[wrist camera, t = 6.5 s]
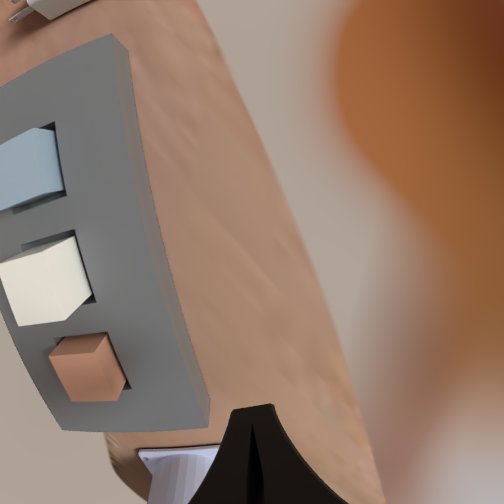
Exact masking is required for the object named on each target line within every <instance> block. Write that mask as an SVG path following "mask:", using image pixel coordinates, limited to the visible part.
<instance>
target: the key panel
mask: <svg viewBox="0 0 504 504" xmlns="http://www.w3.org/2000/svg"><path fill="white" fill-rule="evenodd" d="M32 128H39V129H45V130H51V131H56V135H57V142H58V149H59V155H60V161H61V167H62V173H63V178H64V183H65V188H66V191H65V192H62V193H59V194H56V195H53V196H50V197H48V198H45V199H42V200H39V201H37V202H34V203H30V204H26V205H22V206H18V207H13V208H9V209H5V210H1V211H0V263H1V262H3V261H5V260H7V259H9V258H12V257H14V256H16V255H18V254H20V253H22V252H24V251H26V250H28V249H31V248H34V247H37V246H40V245H44V244H47V243H51V242H54V241H58V240H62V239H65V238H69V237H72V236H75V239H76V242H77V246H78V250H79V253H80V257H81V260H82V264H83V267H84V270H85V273H86V277H87V280H88V283H89V286H90V289H91V292H92V294H91V295H90V296H89V297H88V298H87V299H86V300H85V301H84V302H83V303H82V304H81V305H80V306H79V307H78V308H77V309H76V310H75V311H74V312H73V313H72V314H71V315H70V316H69V317H68V318H67V319H66V320H63V321H56V322H49V323H41V324H34V325H26V326H18V324H17V321H16V319H15V316H14V314H13V311H12V309H11V306H10V303H9V301H8V298H7V295H6V292H5V290H4V287H3V284H2V281H1V278H0V310H1V313H2V316H3V318H4V321H5V323H6V325H7V328H8V330H9V333H10V335H11V337H12V339H13V342H14V344H15V346H16V348H17V350H18V352H19V355H20V356H21V359H22V361H23V363H24V365H25V366H26V369H27V370H28V372H29V374H30V376H31V378H32V380H33V382H34V384H35V385H36V387H37V389H38V391H39V393H40V394H41V396H42V398H43V400H44V401H45V403H46V404H47V406H48V408H49V410H50V411H51V413H52V415H53V416H54V418H55V419H56V421H57V422H58V424H59V425H60V427H61V428H62V430H69V431H86V432H154V431H173V430H186V429H197V428H207V427H208V425H209V412H210V397H209V394H208V391H207V388H206V385H205V382H204V379H203V377H202V374H201V371H200V368H199V365H198V362H197V358H196V355H195V352H194V349H193V346H192V343H191V340H190V336H189V333H188V330H187V327H186V323H185V320H184V317H183V313H182V310H181V306H180V303H179V299H178V296H177V292H176V289H175V285H174V282H173V278H172V274H171V270H170V267H169V263H168V259H167V255H166V251H165V247H164V243H163V239H162V235H161V231H160V227H159V222H158V218H157V214H156V209H155V205H154V200H153V196H152V191H151V187H150V182H149V177H148V172H147V167H146V162H145V157H144V151H143V146H142V141H141V135H140V129H139V123H138V117H137V111H136V105H135V98H134V91H133V84H132V77H131V69H130V61H129V53H128V50H127V49H126V48H125V47H124V46H123V45H122V44H121V43H120V42H119V40H118V39H117V38H116V37H115V36H114V35H113V34H109V35H106V36H104V37H101V38H98V39H96V40H93V41H91V42H88V43H86V44H83V45H81V46H79V47H76V48H74V49H72V50H70V51H67V52H65V53H63V54H61V55H59V56H57V57H55V58H52V59H50V60H48V61H46V62H44V63H42V64H41V65H39V66H37V67H35V68H33V69H31V70H29V71H27V72H26V73H24V74H22V75H20V76H19V77H17V78H15V79H13V80H12V81H10V82H8V83H7V84H5V85H3V86H2V87H0V145H1V144H3V143H5V142H7V141H8V140H10V139H12V138H14V137H16V136H18V135H20V134H22V133H24V132H26V131H28V130H30V129H32ZM99 332H108V334H109V337H110V339H111V342H112V344H113V347H114V349H115V352H116V354H117V356H118V359H119V361H120V363H121V366H122V368H123V370H124V372H125V375H126V377H127V380H126V382H125V384H124V387H123V389H122V391H121V393H120V395H119V398H118V400H117V401H93V402H72V401H71V399H70V397H69V395H68V394H67V392H66V390H65V388H64V386H63V384H62V382H61V381H60V379H59V377H58V375H57V373H56V371H55V369H54V367H53V365H52V363H51V361H50V359H49V355H50V354H51V353H52V351H53V350H54V349H55V348H56V347H57V346H58V344H59V343H60V342H61V341H62V340H63V339H64V338H65V337H66V336H74V335H83V334H91V333H99Z"/></svg>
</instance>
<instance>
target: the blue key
mask: <svg viewBox="0 0 504 504" xmlns="http://www.w3.org/2000/svg"><path fill="white" fill-rule="evenodd" d="M65 191H66V188H65V183H64V178H63V173H62V167H61V161H60V155H59V149H58V142H57V135H56V131H51V130H45V129H39V128H32V129H30V130H28V131H26V132H24V133H22V134H20V135H18V136H16V137H14V138H12V139H10V140H8V141H7V142H5V143H3V144H1V145H0V211H1V210H5V209H9V208H13V207H18V206H22V205H26V204H30V203H34V202H37V201H39V200H42V199H45V198H48V197H50V196H53V195H56V194H59V193H62V192H65Z"/></svg>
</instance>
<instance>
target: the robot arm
mask: <svg viewBox="0 0 504 504" xmlns="http://www.w3.org/2000/svg"><path fill="white" fill-rule="evenodd" d="M138 455H139V457H140V458H141V460H142V461H143V463H144V464H145V466H146V467H147V469H148V470H149V471H150V473H151V474H152V476H153V478H152V482H151V487H150V492H149V497H148V502H147V504H348V503H347V502H346V501H344V500H343V499H342V498H341V497H339V496H338V495H337V494H336V493H335V492H334V491H333V490H332V489H331V488H330V487H329V486H328V485H327V484H326V483H325V482H324V481H323V480H322V479H321V478H320V477H319V476H318V475H317V474H316V473H315V472H314V471H313V470H312V468H311V467H310V466H309V465H308V464H307V462H306V461H305V460H304V459H303V457H302V456H301V455H300V453H299V452H298V451H297V449H296V448H295V446H294V445H293V443H292V442H291V440H290V439H289V437H288V436H287V434H286V432H285V430H284V429H283V427H282V425H281V423H280V421H279V419H278V416H277V414H276V411H275V407H274V405H273V404H271V403H270V404H264V405H259V406H253V407H247V408H240V409H234V410H233V411H232V412H231V415H230V419H229V422H228V426H227V429H226V432H225V434H224V437H223V440H222V442H221V444H220V445H212V446H202V447H189V448H172V449H141V450H139V453H138Z"/></svg>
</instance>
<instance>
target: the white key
mask: <svg viewBox="0 0 504 504" xmlns="http://www.w3.org/2000/svg"><path fill="white" fill-rule="evenodd" d="M0 278H1V281H2V284H3V287H4V290H5V292H6V295H7V298H8V301H9V303H10V306H11V309H12V311H13V314H14V316H15V319H16V321H17V324H18V326H26V325H34V324H41V323H49V322H56V321H63V320H66V319H67V318H68V317H69V316H70V315H71V314H72V313H73V312H74V311H75V310H76V309H77V308H78V307H79V306H80V305H81V304H82V303H83V302H84V301H85V300H86V299H87V298H88V297H89V296H90V295H91V294H92V292H91V289H90V286H89V283H88V280H87V277H86V273H85V270H84V267H83V264H82V260H81V257H80V253H79V250H78V246H77V242H76V239H75V236H72V237H69V238H65V239H62V240H58V241H54V242H51V243H47V244H44V245H40V246H37V247H34V248H31V249H28V250H26V251H24V252H22V253H20V254H18V255H16V256H14V257H12V258H9V259H7V260H5V261H3V262H1V263H0Z"/></svg>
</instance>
